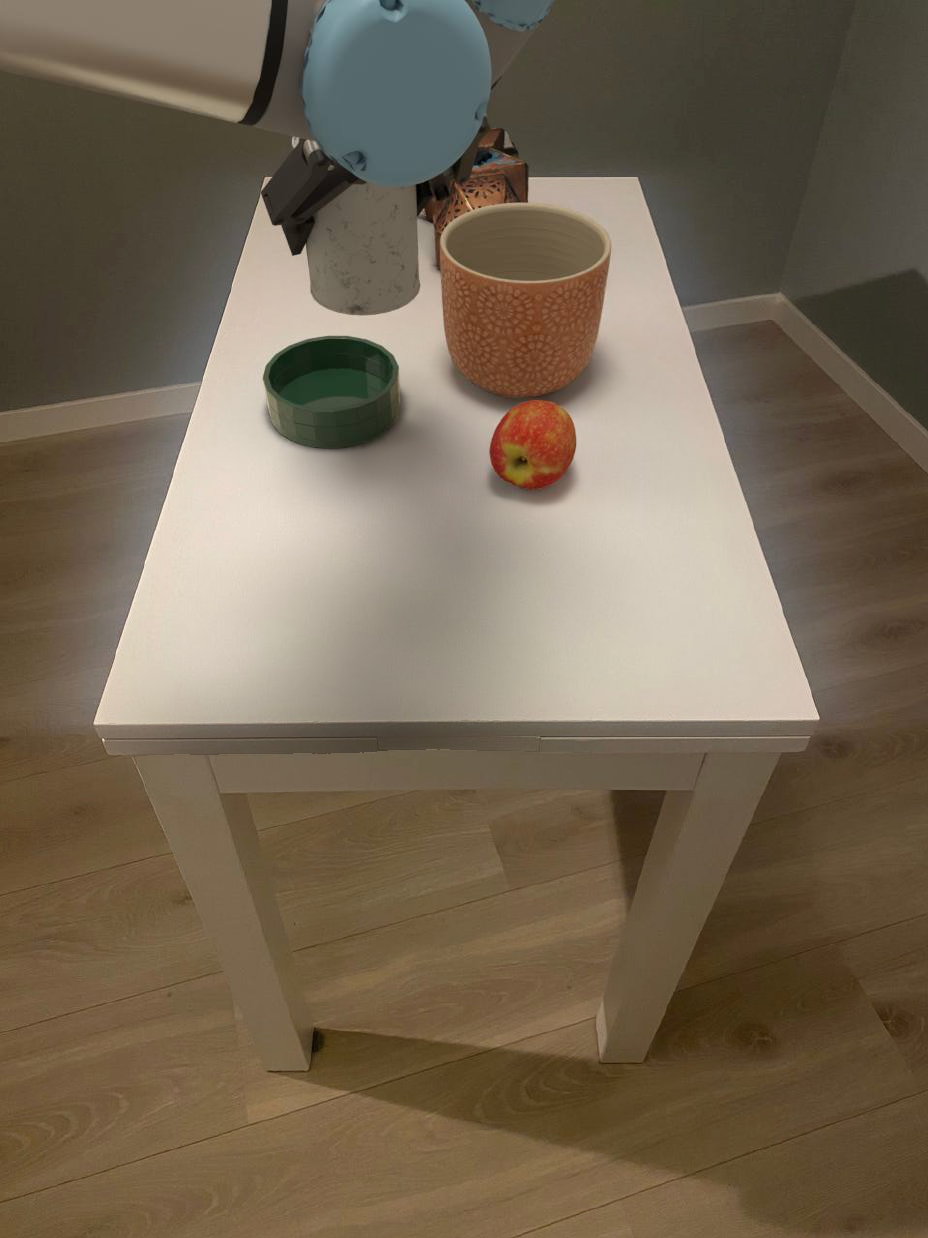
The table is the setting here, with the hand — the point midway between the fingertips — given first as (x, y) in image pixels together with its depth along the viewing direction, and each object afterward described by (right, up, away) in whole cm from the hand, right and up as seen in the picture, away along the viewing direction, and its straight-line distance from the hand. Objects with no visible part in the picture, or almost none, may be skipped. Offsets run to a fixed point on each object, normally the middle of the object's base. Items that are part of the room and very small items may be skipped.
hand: (347, 226), depth 80 cm
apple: (+17, -20, +12) cm, 29 cm away
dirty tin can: (+1, -5, +1) cm, 5 cm away
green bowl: (-4, -11, +19) cm, 23 cm away
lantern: (+11, +14, +42) cm, 46 cm away
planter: (+16, -6, +24) cm, 29 cm away
